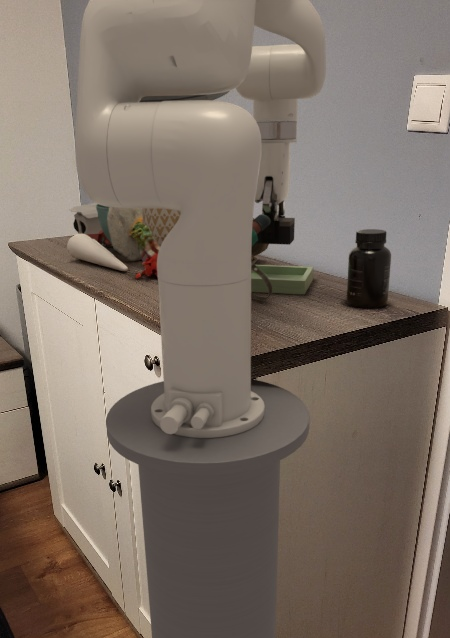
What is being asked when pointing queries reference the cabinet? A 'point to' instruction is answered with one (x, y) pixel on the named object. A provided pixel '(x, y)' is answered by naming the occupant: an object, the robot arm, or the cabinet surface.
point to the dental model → (100, 238)
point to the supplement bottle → (369, 270)
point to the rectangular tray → (283, 279)
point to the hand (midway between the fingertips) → (273, 239)
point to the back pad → (283, 231)
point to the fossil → (124, 231)
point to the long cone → (93, 252)
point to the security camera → (86, 219)
